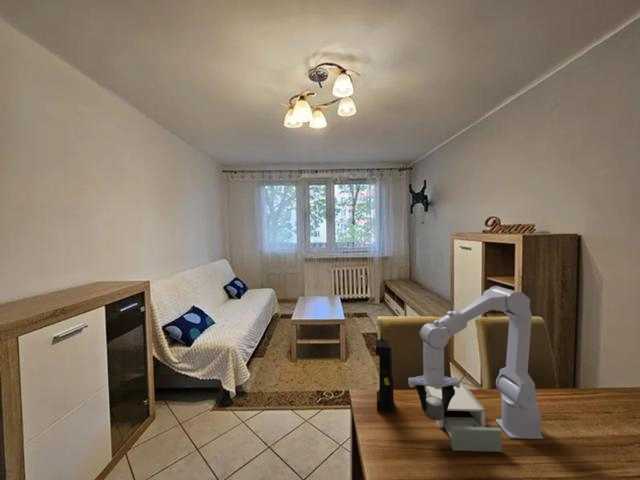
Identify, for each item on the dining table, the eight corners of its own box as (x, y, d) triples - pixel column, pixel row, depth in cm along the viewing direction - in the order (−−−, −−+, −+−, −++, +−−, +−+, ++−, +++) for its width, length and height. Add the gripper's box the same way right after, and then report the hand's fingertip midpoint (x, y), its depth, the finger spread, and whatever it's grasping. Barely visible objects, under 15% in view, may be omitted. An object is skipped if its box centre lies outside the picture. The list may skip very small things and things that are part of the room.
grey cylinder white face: (440, 408, 87) (439, 395, 87) (447, 420, 81) (447, 406, 81) (422, 408, 87) (421, 395, 87) (427, 420, 82) (427, 406, 82)
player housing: (465, 401, 101) (464, 384, 101) (485, 428, 87) (485, 409, 87) (425, 400, 102) (425, 384, 102) (439, 427, 88) (439, 408, 88)
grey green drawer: (477, 419, 91) (477, 401, 91) (501, 451, 78) (501, 430, 78) (436, 418, 92) (436, 400, 92) (452, 450, 79) (452, 429, 79)
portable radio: (395, 415, 95) (394, 341, 94) (376, 413, 96) (375, 340, 95) (393, 401, 102) (392, 333, 102) (376, 399, 104) (375, 332, 103)
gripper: (412, 371, 80) (413, 418, 81) (464, 371, 79) (465, 419, 80) (406, 360, 87) (407, 403, 88) (454, 360, 86) (454, 403, 87)
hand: (434, 409), depth 84 cm, fingers closed on grey cylinder white face, 5 cm apart
